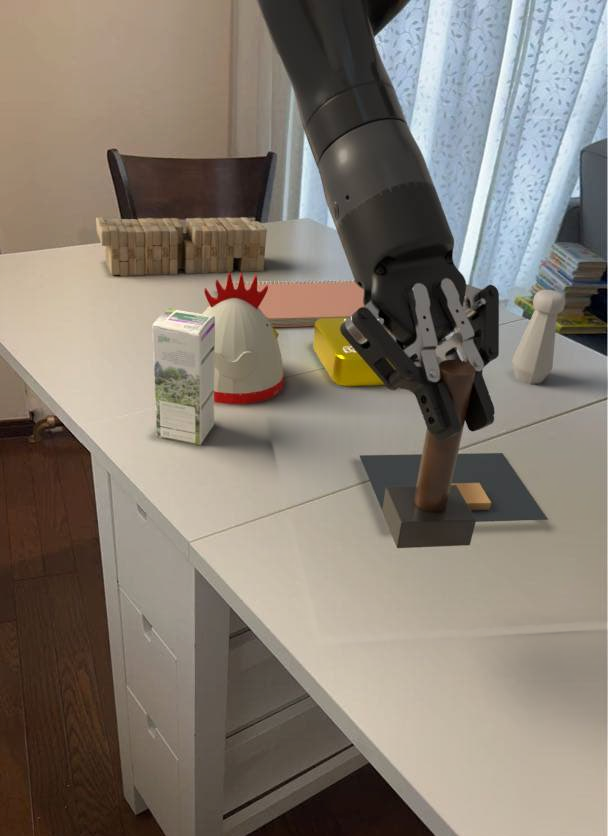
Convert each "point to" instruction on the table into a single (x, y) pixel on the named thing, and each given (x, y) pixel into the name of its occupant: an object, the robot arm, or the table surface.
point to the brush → (435, 481)
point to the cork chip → (474, 496)
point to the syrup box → (184, 375)
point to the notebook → (307, 301)
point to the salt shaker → (538, 339)
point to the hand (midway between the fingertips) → (466, 431)
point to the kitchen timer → (243, 345)
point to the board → (480, 468)
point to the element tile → (341, 355)
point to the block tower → (182, 245)
